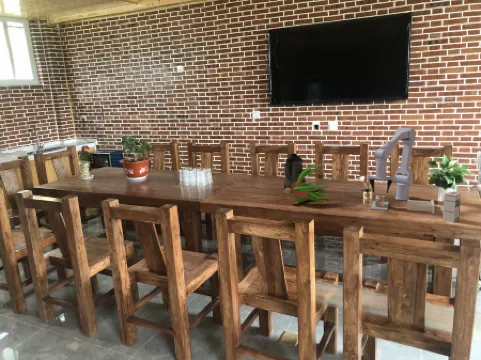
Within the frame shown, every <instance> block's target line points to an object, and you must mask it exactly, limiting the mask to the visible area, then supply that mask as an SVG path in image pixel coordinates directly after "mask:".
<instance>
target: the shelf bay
mask: <svg viewBox="0 0 481 360" xmlns="http://www.w3.org/2000/svg"><path fill="white" fill-rule="evenodd" d="M434 201H435V200H434V199H431V200H430V201H427V200H411V199H409V200H407V205H406V207H407V208H406V210H407V211H414V212H415V211H416V212H428V213H429V212H430V213H431V214H432V215H435V211H436V210H435V209H436V206H435V202H434Z"/></svg>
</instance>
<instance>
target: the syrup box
mask: <svg viewBox="0 0 481 360" xmlns="http://www.w3.org/2000/svg"><path fill="white" fill-rule="evenodd" d="M461 195H462V193H461V192H458V191H452V190H451V191H450V190H449V191H447V192H445V193H444V195H443V212H442V213H443V214H442V220H444V221H448V222H453V223H455V222H457V221H459V220H460V213H461V198H462V197H461Z"/></svg>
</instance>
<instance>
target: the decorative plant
mask: <svg viewBox="0 0 481 360" xmlns="http://www.w3.org/2000/svg"><path fill="white" fill-rule="evenodd" d="M318 166H321V167H318ZM324 166H325V164H322V163H320V164H317V163H315V164H312V165H309V166H308V167H306V168H303V171H302V172H301V173H300V175H299V177H298V180H297V182H296V183H295V184H294V185H293V183H292V185H293V186H291V189H290V188H286V189H284V194H286V195H288V196H291V195H292V196H293V197H294V199H295V200H296V201H297V202H299V203H304V202H306V201H316V202H317V203H321V204H327V205H329V203H327V202H329V200H328V199H332V200H333V199H334V198H332V197H330V195H331V194H330V193H331V192H328V194H326V191H324V189H328V188H329V186H326V185H325V186H322V185H323V184H325V183H330V182H332V180H331V179H329V180H324V181H321V182H319V181H320V180H319V181H317V182H318V183H317V182H310V183H308V182H309V181H310V180H309V181H306V184H304V183H303V184H304V185H301V184H300V183H301V181H302V179H303V178H304V177H305V178H306V177H308V176H309V175H312V174H313V175H314V174H315V173H319V174H322V173H324V171H322V170H323V167H324ZM316 167H317V168H316ZM319 169H320V170H319ZM321 169H322V170H321ZM325 178H326V177H325ZM325 178H323V179H325ZM293 182H294V181H293ZM319 186H320V187H319ZM317 190H320V191H318V192H314V191H317ZM323 191H324V192H323ZM322 192H323V193H322ZM329 194H330V195H329ZM328 195H329V196H328ZM298 196H299V197H298ZM324 200H325V201H327V202H325V201H324Z"/></svg>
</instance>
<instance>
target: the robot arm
mask: <svg viewBox="0 0 481 360" xmlns="http://www.w3.org/2000/svg"><path fill="white" fill-rule="evenodd" d="M394 132H395V134H394V135H393V136H392V138H391V139H390V140H388V141H387V140H386V142H385V143H384V144H383V145H382V146H381V147H380V148H378V149H375V151H374V154H373V156H374V158H375V159H374V160H375V175H374V176H373V175H371V176H369V175H368V176H367V181H369V184H370V186H371V189H372V193H375V181H384V182H386V183H387V184H386V194H389V190H390V187H391V185H392V183H393V182H394V183H395V184H396V193H395V194H396V195H395V200H397V201H398V200H399V201H408V200H410V186H411V185H413V181H414V178H413V177H414V173H413V172H412V171H411V169H410V166H411V161H412V160H411V159H412V152H413V148H414V147H413V146H414V145H413V144H414V143H415V141H416V135H417V132H416V129H415V128H413V127H411V128H410V127H400V126H399V127H398V128H396V130H395V131H394ZM400 141H401V142H402V143H403V146H402V154H401V160H400V167H399V169H397V170H396V171H395V174H394V177H393V176H387V166H388V162H387V161H388V159H389V158H390V155H391V152H392V151H393V150H394V149H395V147H396V144H398V143H399V142H400Z"/></svg>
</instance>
